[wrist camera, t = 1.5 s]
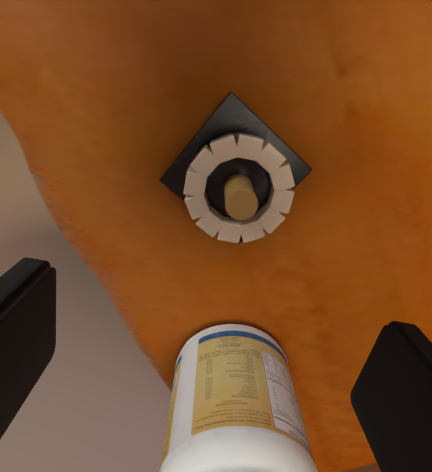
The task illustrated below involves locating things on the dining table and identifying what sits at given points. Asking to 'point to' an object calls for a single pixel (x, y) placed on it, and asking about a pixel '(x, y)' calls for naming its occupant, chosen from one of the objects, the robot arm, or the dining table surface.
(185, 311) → the dining table surface
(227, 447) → the supplement tub
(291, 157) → the ring holder
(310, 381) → the dining table surface
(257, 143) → the ring
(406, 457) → the robot arm
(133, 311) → the dining table surface
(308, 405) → the dining table surface
